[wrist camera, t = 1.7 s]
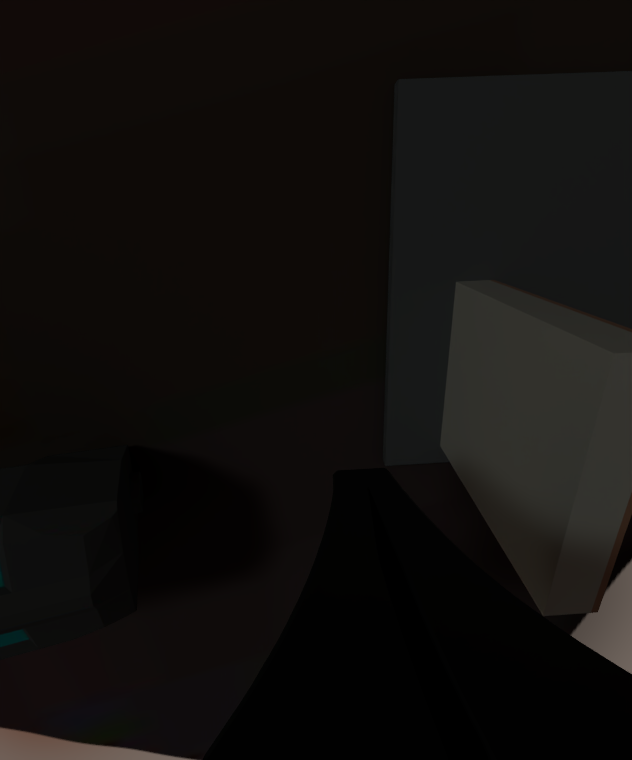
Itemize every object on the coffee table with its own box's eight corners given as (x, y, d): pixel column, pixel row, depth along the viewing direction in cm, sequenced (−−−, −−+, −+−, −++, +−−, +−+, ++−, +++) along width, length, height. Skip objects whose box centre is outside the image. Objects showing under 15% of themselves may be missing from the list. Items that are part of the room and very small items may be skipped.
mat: (666, 442, 21) (676, 448, 20) (382, 459, 21) (385, 465, 20) (799, 70, 15) (819, 64, 14) (394, 84, 14) (398, 79, 14)
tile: (472, 443, 20) (597, 611, 12) (440, 445, 20) (543, 615, 11) (493, 279, 17) (688, 349, 8) (455, 281, 17) (614, 353, 8)
